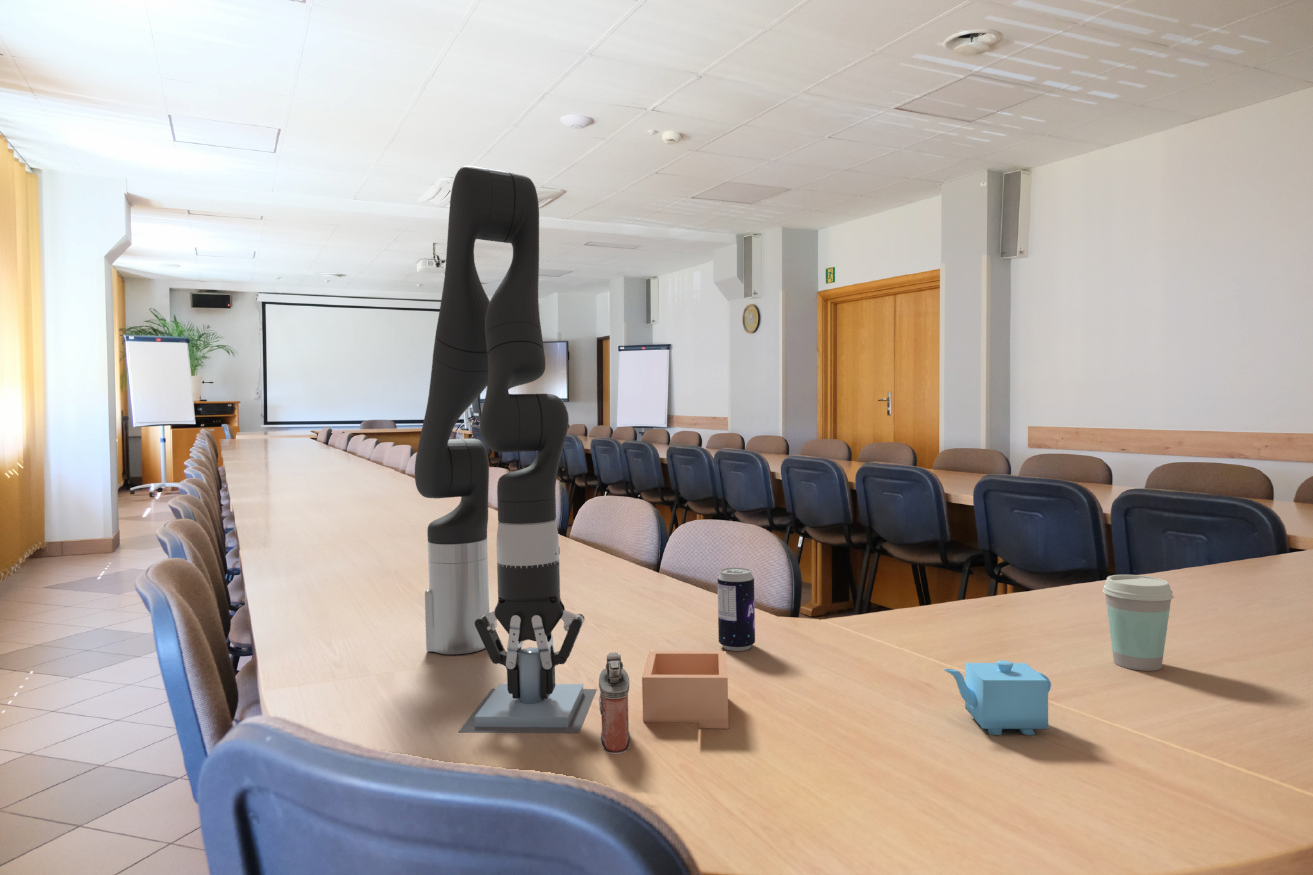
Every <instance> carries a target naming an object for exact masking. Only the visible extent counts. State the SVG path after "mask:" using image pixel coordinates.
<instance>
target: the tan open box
mask: <svg viewBox="0 0 1313 875" xmlns="http://www.w3.org/2000/svg"><path fill="white" fill-rule="evenodd" d="M728 680H729V677H728V663H727V651H725V650H724V651H723V650H721V651H719V650H718V651H717V650H714V651H713V650H707V651H706V650H705V651H703V650H696V651H695V650H685V651H684V650H682V651H681V650H678V651H677V650H665V651H664V650H657V651H656V650H649V651H648V653H647V657H646V660H645V665H644V668H643V672H642V675H641V686H642V687H641V688H642V693H641V695H642V697H641V698H642V722H644V723H645V722H647V723H648V722H650V723H651V722H653V723H657V722H658V723H659V722H661V723H663V722H664V723H665V722H668V723H670V722H671V723H698V724H697V725H698V726H697V728H698V729H723V730H724V729H729V687H728V686H729V684H728V683H729V682H728Z"/></svg>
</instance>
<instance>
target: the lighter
mask: <svg viewBox="0 0 1313 875" xmlns="http://www.w3.org/2000/svg"><path fill="white" fill-rule="evenodd" d="M598 688H599V692H600V693H599V696H598V698H599V701H598V702H599V712H600V715H601V730H600V731H601V732H600V738H599V740H600V744H601V747H602V749H603V751H604V752H605V753H607V754H611V755H612V754H613V755H617V754H623V753H626V752H628V751H629V749H630V746H631V738H632V737H631V734H630V730H629V692H630V676H629V674H628V672H627V671H626V669H625V668H624V663H623V662H622V655H621V654H620V653H619V652H616V651H615V652H614V651H613V652H608V653H607V654H606V663H605V668H604V669H602V670H601V672H600V674H599V676H598Z"/></svg>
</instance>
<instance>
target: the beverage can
mask: <svg viewBox="0 0 1313 875" xmlns="http://www.w3.org/2000/svg"><path fill="white" fill-rule="evenodd" d="M755 602H756V601H755V578H754V576H753V574H752V570H751V569H749V568H747V567H746V568H744V567H725V568H722V569H720V570H719V574H718V577H717V611H718V612H717V618H718V619H717V620H718V622H717V624H718V625H717V626H718V629H717V630H718V631H717V632H718V643H719V644H720V645H721V646H722V647H723V649H725V650H727V651H732V652H743V651H747V650H749V649H751V647H752V646H753V645H754V644H755V643H756V621H755V620H756V618H755V617H756V615H755V613H756V612H755V609H756V608H755V607H756V606H755V604H756V603H755Z"/></svg>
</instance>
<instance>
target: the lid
mask: <svg viewBox="0 0 1313 875" xmlns="http://www.w3.org/2000/svg"><path fill="white" fill-rule="evenodd" d="M518 664H519V699H513V697H512V694H509V692H508V690H507V683H499V684H498V685H497V687H496V688H494V689H495V691H494V692H493V693H492V695H491V696H490V697H489V699H488V700H487V701H486V702H485V704H484V705H483V706H482V708H481V709H480V710H479V712H478V713H477V714H476V716H475V727H567V728H568V727H569V725H570V722H571V720H572V718H573V716H574V713H575V711H576V709H577V707H578V705H579V702H580V700H581V698H582V696H583V693H584V690H583V689H584V683H555V688H554V691H553V692H552V694H550V696H549V697H548V699H542V698H541V669H542V668H543V666H542V661H541V656H540V652H539V651H538V647H526V648H522V649H521V650H519V651H518Z"/></svg>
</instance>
